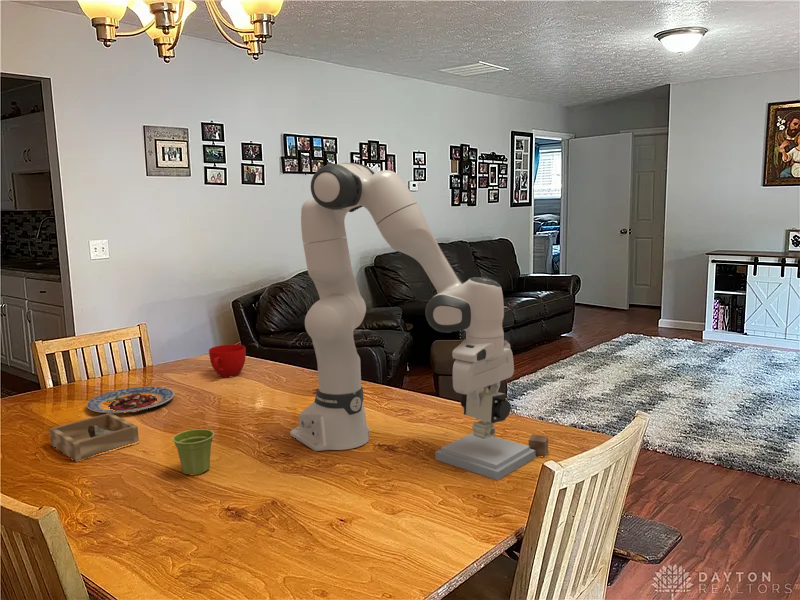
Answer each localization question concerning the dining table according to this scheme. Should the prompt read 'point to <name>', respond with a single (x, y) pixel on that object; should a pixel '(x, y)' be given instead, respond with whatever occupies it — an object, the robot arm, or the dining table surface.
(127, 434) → the rock tray
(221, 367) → the ceramic cup
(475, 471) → the stand
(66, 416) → the dining table surface
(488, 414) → the pneumatic valve
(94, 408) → the ceramic plate
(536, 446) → the walnut block
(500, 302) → the robot arm
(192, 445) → the plant pot
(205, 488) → the dining table surface
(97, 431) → the rock sample
